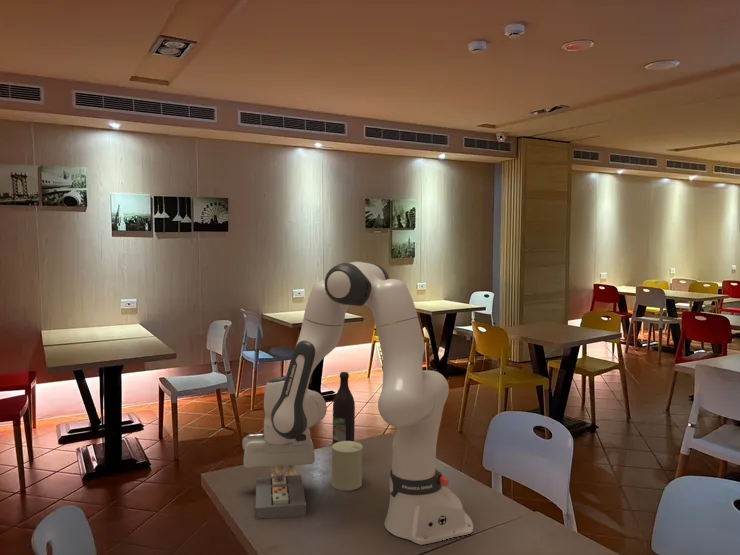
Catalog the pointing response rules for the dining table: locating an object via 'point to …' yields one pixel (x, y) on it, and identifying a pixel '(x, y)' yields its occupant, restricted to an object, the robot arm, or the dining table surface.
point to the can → (347, 465)
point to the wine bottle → (343, 412)
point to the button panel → (291, 509)
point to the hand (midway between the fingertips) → (279, 479)
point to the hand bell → (289, 471)
